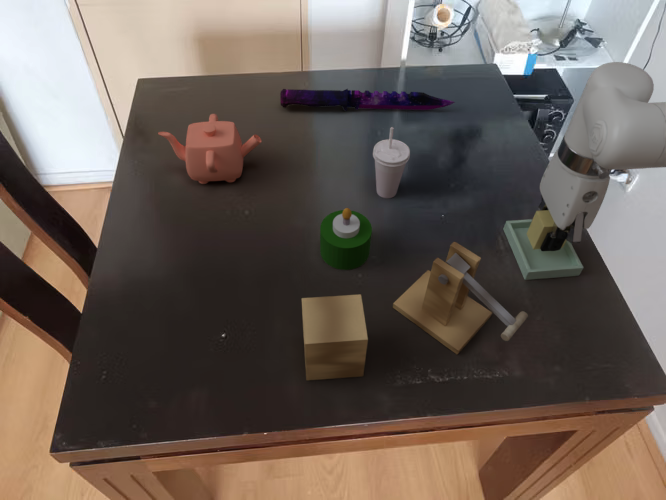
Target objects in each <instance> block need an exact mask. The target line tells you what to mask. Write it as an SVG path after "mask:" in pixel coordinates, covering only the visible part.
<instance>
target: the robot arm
mask: <svg viewBox="0 0 666 500" xmlns="http://www.w3.org/2000/svg"><path fill="white" fill-rule="evenodd" d="M589 75H590V76H589V77H588V79H587V81H586V84H585V86H584V88H583V90H582V93H581V95H580V98H579V99H578V102H577V104H576V107H575V109H574V112H573V113H572V116H571V117H570V121H569V123H568V125H567V127H566V130H565V132H564V135H563V137H562V139H561V142H560V143H559V146H558V147H557V148H556V150H555V152H554V153H553V155H552V156H551V158H550V160H549V162H548V164H547V166H546V168H545V170H544V172H543V175H542V177H541V180H540V183H539V191H540V192H539V193H540V198H541V200H540V203H539V205H538V209H537V210H538V211H543V210H549V212H550V214H551V216H552V218H553V220H554V224H553V227H552V230H551V232H549V233H547V235H546V237H545V239H544V241H543V243H542V245H541V247H540V249H541V251H557V250H560V249H561V247H562V245H563V243H564V241H565V239H566V241H568V242H570V243H571V244H580V243H581V241H582V234H583V230H588V229H590V228H591V227H592V225H593V223H594V221H595V219H596V217H597V216H598V214H599V211H600V209H601V207H602V205H603V202H604V200H605V198H606V194H607V191H608V188H609V185H610V180H611V176H610V173H611V171H612V170H613V171H618V170H619V171H621V170H622V171H623V170H625V171H626V170H641V169H642V170H643V169H659V168H666V101H662V102H660V101H659V102H650V100H651V98H652V95H653V93H654V90H655V89H654V88H655V84H654V81H653V78H652V76H651V75H650V74H649V73H648V72H647V71H645V70H644V69H643V68H641V67H639V66H637V65H634V64H631V63H627V62H622V61H612V62H611V61H610V62H606V63H603V64H601V65H599V66H597V67H596V68H595V69H594V70H593V71H591V73H590V74H589ZM560 229H561V230H560ZM564 229H565V230H564Z"/></svg>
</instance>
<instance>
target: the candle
mask: <svg viewBox="0 0 666 500" xmlns="http://www.w3.org/2000/svg"><path fill="white" fill-rule="evenodd" d="M372 226H373V225H372V223H371V221H370V220H369V219H368V218H367V217H366V216H365V215H363V214H362V213H360V212H359V211H355V210H351V209H350V208H349V207H346V208H344V209H340V210H336V211H332V212H330V213H329V214H327V215H326V216H325V217H324V218H323V219H322V221H321V223H320V227H319V235H320V236H319V243H320V244H319V245H320V246H319V247H320V248H319V249H320V250H319V251H320V256H321V258H322V260H323V261H324V263H326V264H327V265H328V266H329V267H331V268H334V269H336V270H341V271H351V270H355V269H357V268H360V267H362V266H363V265H364V264H365V263H366V262H367V261H368V259H369V258H370V253H371V243H372V234H373V227H372Z"/></svg>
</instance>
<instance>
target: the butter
mask: <svg viewBox="0 0 666 500" xmlns="http://www.w3.org/2000/svg"><path fill="white" fill-rule="evenodd" d="M532 219H533V220H532V222H531V225H530V227H529V229H528V231H527V236H528V238H529V241H530V243H531V245H532V248H533V250H534V249H540V247H541V245H542V243H543V241H544V239H545V237H546V235H547V233H549V232H551V230H552V227H553V224H554V220H553V218H552V216H551V214H550V212H549V210H543V211H539V210H536V211H535V213H534V216H533V217H532ZM560 230H561V229H560ZM564 230H565V229H564ZM565 243H566V239H565V241H564V243H563V245H562V247H561V248H563V246H564V244H565Z"/></svg>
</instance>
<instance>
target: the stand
mask: <svg viewBox="0 0 666 500" xmlns="http://www.w3.org/2000/svg"><path fill="white" fill-rule="evenodd" d="M364 310H365V309H364V305H363V298H362V294H359V293H358V294H345V295H330V296H315V297H302V298H301V314H302V334H303V335H302V336H303V349H304V350H303V351H304V365H305V381H318V380H320V381H321V380H331V379H345V378H357V377H364V373H365V365H366V357H367V351H368V342H369V337H368V331H367V324H366V318H365V311H364Z"/></svg>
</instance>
